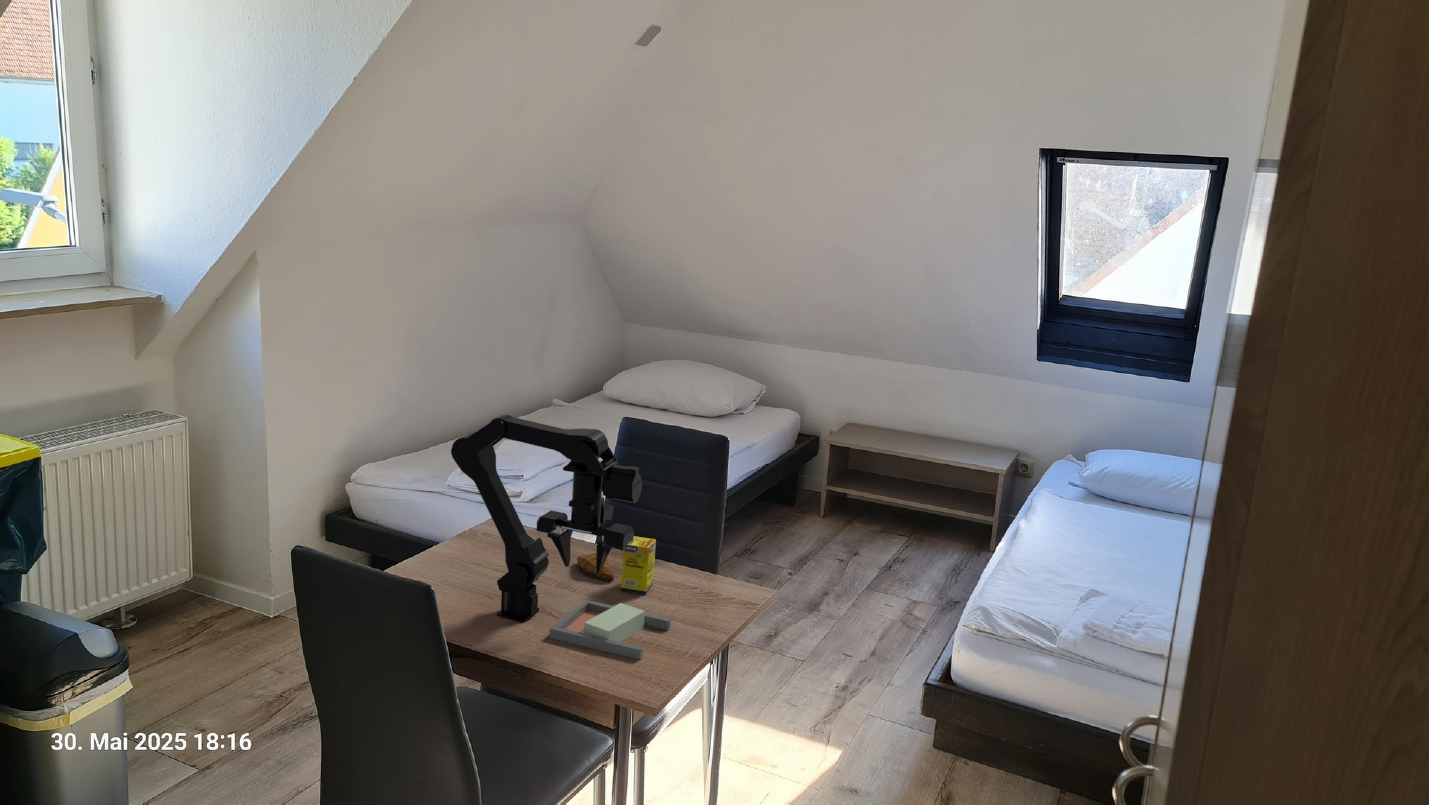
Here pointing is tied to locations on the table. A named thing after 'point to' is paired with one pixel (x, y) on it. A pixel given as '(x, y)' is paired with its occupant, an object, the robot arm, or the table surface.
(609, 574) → the croissant
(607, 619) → the block
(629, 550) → the supplement box
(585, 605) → the channel
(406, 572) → the table surface
